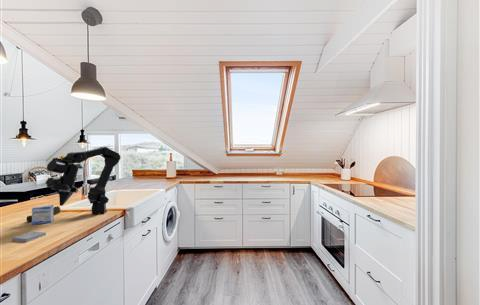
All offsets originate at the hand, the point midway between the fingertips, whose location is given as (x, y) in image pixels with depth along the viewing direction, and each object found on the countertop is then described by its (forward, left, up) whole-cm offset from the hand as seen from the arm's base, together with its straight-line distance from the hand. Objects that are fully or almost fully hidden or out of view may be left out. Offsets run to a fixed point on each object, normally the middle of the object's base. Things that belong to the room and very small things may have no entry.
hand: (61, 205), depth 112 cm
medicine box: (+12, -8, -10) cm, 18 cm away
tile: (+4, +11, -10) cm, 15 cm away
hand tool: (+17, -19, -11) cm, 28 cm away
